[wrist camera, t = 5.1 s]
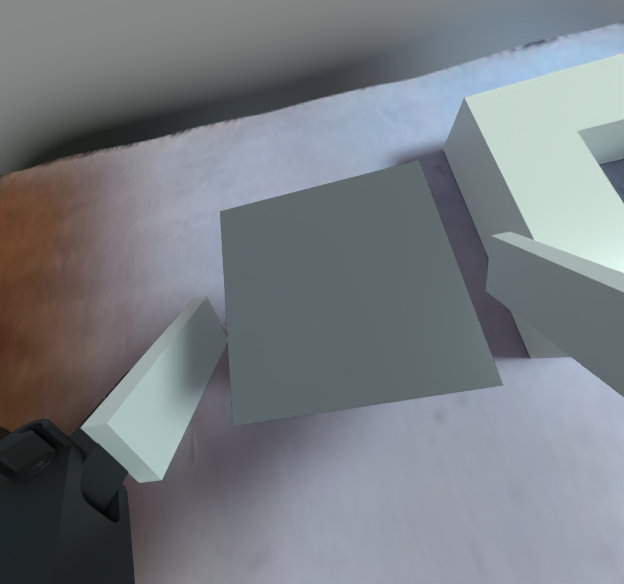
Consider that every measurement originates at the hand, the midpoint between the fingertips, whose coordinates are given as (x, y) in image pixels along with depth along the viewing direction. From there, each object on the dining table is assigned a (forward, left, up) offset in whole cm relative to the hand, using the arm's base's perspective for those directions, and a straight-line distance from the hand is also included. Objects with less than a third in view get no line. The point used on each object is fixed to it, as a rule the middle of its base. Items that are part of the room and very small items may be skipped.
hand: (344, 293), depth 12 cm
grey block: (0, -1, -6) cm, 6 cm away
